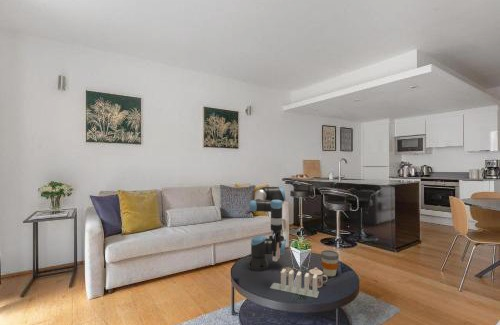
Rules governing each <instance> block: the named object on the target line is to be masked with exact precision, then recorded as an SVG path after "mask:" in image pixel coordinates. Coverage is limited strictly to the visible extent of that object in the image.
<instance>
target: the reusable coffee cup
mask: <svg viewBox="0 0 500 325" xmlns="http://www.w3.org/2000/svg"><path fill="white" fill-rule="evenodd" d="M320 257H321V260H320V261H321V267H322V272H323V275H326V276H327V277H335V276H336V275H337V270H338V268H339V258H340V257H339V253H338V252H336V251H333V250H328V249H327V250H321V253H320Z"/></svg>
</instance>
